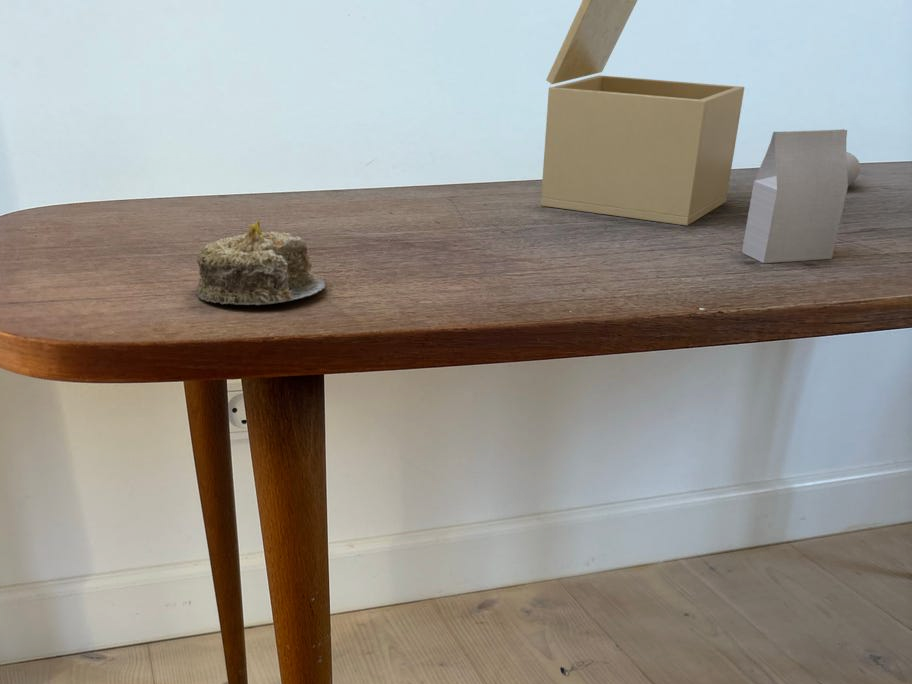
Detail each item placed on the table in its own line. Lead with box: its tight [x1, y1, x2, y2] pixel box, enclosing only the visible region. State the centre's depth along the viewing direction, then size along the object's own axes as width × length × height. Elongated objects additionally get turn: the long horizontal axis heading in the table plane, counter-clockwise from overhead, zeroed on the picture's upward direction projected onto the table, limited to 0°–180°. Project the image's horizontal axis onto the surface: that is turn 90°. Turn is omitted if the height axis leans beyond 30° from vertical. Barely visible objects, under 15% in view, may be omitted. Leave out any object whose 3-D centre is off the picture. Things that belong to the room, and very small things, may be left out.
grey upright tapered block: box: [741, 128, 849, 264], centre depth 90 cm, size 4×7×10 cm, turn 106°
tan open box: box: [540, 74, 745, 226], centre depth 106 cm, size 16×13×11 cm
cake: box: [195, 220, 326, 306], centre depth 80 cm, size 10×10×5 cm
